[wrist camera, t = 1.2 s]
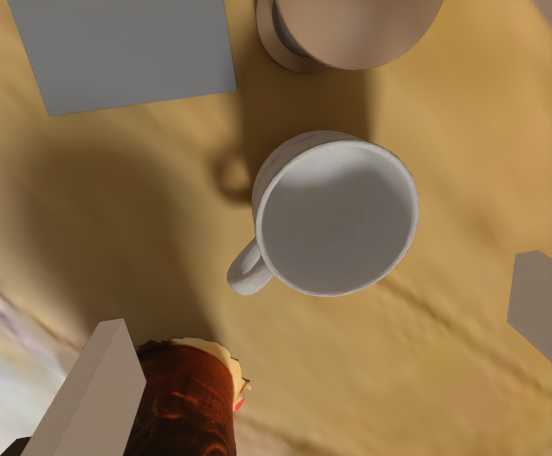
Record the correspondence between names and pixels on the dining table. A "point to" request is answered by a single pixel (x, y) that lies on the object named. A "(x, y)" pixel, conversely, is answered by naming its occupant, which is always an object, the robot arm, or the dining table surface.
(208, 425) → the vessel
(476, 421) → the dining table surface
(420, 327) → the dining table surface
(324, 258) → the teacup
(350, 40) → the brown rounded upright piece
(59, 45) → the pad
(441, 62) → the dining table surface
